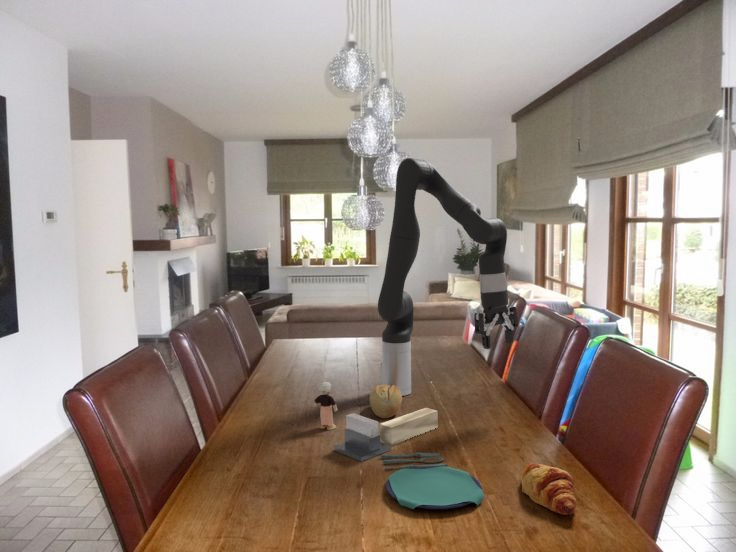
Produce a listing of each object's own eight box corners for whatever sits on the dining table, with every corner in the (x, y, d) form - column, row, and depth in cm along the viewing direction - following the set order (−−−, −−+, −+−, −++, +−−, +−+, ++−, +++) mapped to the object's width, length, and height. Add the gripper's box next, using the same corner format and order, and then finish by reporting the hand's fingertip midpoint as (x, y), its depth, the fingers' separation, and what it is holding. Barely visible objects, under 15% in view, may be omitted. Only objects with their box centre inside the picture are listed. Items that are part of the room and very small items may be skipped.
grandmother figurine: (341, 426, 165) (340, 381, 163) (336, 431, 161) (335, 384, 160) (316, 423, 167) (315, 379, 166) (310, 428, 164) (309, 382, 162)
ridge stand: (333, 450, 148) (333, 418, 147) (363, 439, 155) (363, 409, 154) (361, 461, 141) (360, 428, 140) (391, 449, 147) (390, 418, 147)
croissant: (515, 491, 132) (499, 461, 131) (553, 467, 133) (537, 437, 132) (558, 539, 111) (539, 504, 110) (603, 511, 112) (585, 475, 111)
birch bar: (380, 442, 153) (380, 423, 152) (426, 425, 165) (426, 407, 165) (391, 446, 150) (391, 427, 150) (437, 428, 163) (437, 410, 162)
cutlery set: (395, 520, 113) (395, 509, 113) (372, 460, 143) (372, 451, 143) (496, 513, 116) (496, 501, 116) (453, 455, 146) (453, 446, 145)
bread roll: (399, 403, 185) (399, 378, 184) (404, 419, 170) (404, 392, 169) (368, 404, 184) (368, 379, 183) (370, 420, 169) (369, 393, 169)
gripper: (502, 286, 176) (507, 340, 177) (465, 292, 169) (470, 349, 170) (521, 286, 170) (526, 343, 171) (483, 293, 162) (488, 352, 163)
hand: (498, 346), depth 170 cm, fingers open, 8 cm apart
